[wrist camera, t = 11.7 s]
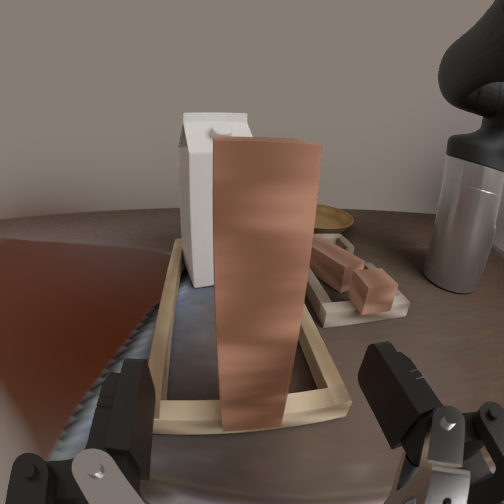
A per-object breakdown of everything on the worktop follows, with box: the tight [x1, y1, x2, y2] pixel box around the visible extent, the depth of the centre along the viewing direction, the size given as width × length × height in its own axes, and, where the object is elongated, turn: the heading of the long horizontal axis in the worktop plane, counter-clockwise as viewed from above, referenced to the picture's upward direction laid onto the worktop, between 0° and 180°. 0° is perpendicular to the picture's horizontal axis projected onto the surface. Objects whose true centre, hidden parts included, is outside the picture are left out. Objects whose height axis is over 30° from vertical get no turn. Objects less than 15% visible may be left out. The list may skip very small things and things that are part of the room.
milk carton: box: [179, 113, 253, 288], centre depth 33 cm, size 7×7×19 cm
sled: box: [148, 136, 352, 434], centre depth 25 cm, size 13×30×17 cm, turn 8°
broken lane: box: [305, 234, 410, 328], centre depth 35 cm, size 10×21×5 cm, turn 8°
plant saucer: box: [314, 204, 354, 234], centre depth 54 cm, size 15×15×3 cm
